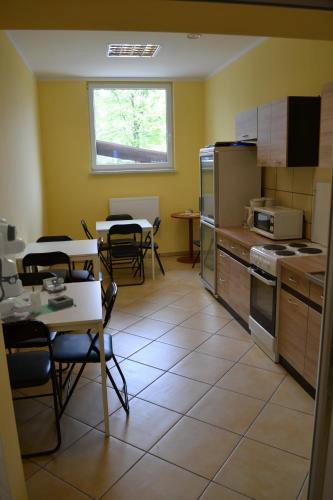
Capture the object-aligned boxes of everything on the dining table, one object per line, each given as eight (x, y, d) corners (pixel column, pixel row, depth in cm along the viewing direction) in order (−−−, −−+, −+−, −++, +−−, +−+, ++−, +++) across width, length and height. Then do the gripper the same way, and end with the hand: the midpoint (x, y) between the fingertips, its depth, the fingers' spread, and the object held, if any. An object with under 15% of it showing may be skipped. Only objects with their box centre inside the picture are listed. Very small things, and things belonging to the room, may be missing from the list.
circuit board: (25, 311, 241) (25, 310, 240) (65, 300, 257) (65, 299, 257) (35, 318, 230) (35, 316, 229) (76, 306, 246) (76, 304, 246)
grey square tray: (48, 304, 248) (47, 299, 247) (65, 300, 255) (64, 294, 254) (56, 309, 239) (55, 303, 239) (73, 304, 246) (73, 299, 246)
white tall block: (32, 311, 238) (28, 285, 234) (39, 309, 240) (36, 284, 237) (34, 313, 234) (31, 287, 231) (42, 311, 237) (39, 285, 234)
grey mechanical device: (66, 277, 275) (50, 281, 268) (68, 291, 277) (52, 295, 271) (56, 272, 289) (41, 275, 282) (57, 285, 291) (42, 289, 285)
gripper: (14, 306, 218) (38, 300, 226) (1, 297, 233) (25, 292, 241) (16, 317, 219) (40, 310, 228) (3, 308, 234) (26, 302, 243)
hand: (32, 301), depth 235 cm, fingers open, 8 cm apart
